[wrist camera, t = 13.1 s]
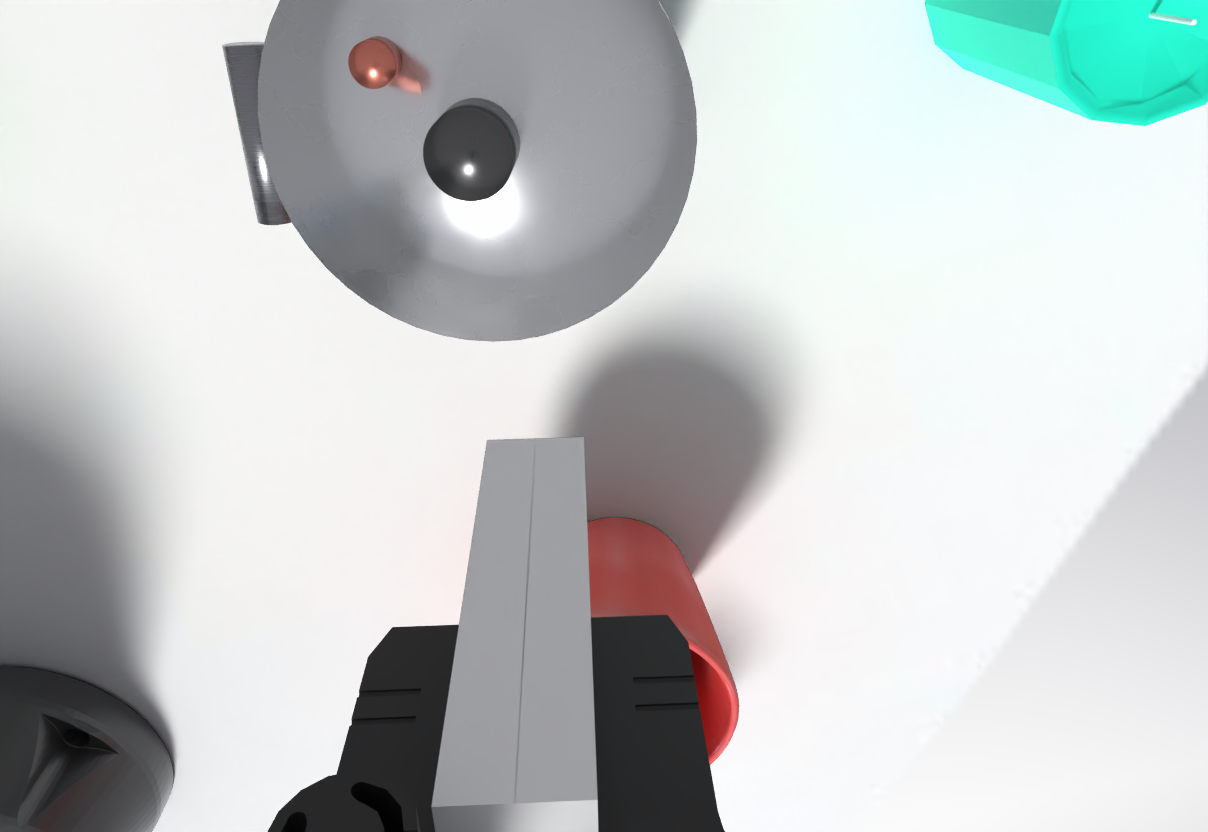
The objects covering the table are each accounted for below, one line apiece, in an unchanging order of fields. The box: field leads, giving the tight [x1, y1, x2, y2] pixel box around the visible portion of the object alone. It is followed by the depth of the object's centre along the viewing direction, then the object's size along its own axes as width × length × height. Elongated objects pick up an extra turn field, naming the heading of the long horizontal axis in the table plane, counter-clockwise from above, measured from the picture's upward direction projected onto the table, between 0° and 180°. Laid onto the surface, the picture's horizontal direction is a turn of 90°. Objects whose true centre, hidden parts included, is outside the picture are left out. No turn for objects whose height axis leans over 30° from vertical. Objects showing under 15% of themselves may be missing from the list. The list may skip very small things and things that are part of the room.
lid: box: [222, 0, 697, 341], centre depth 25 cm, size 13×12×3 cm
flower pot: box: [587, 517, 739, 765], centre depth 43 cm, size 11×11×10 cm
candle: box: [925, 0, 1208, 126], centre depth 29 cm, size 6×6×12 cm
